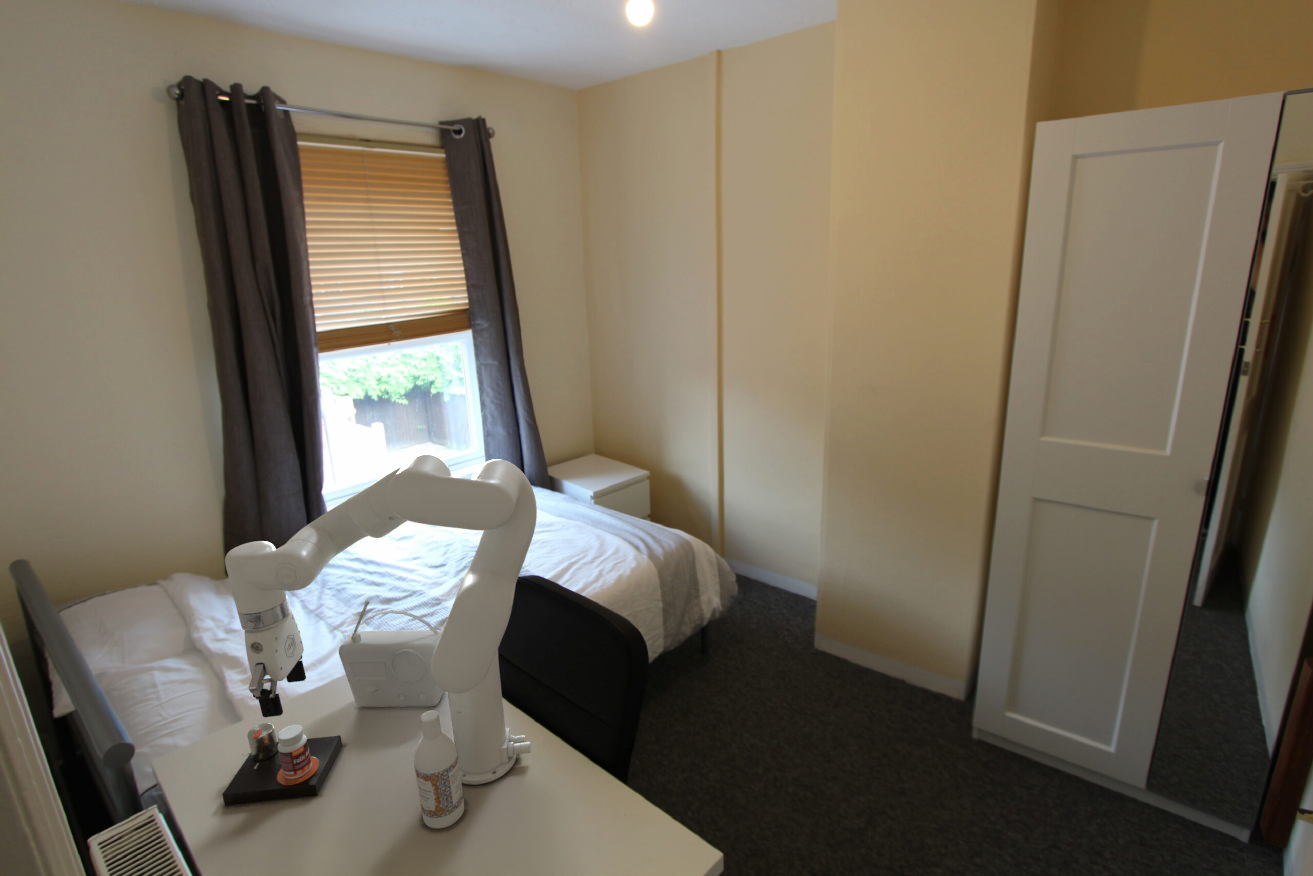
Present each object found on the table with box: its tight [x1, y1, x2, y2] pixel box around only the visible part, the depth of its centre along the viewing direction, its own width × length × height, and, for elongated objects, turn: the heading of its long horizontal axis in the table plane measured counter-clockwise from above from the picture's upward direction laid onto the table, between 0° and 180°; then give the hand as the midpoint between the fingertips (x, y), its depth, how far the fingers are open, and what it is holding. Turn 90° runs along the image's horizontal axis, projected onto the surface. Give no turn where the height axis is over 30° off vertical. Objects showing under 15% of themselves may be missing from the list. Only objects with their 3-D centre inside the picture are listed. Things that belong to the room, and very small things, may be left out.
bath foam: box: [413, 709, 465, 830], centre depth 112 cm, size 7×7×20 cm
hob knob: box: [246, 722, 278, 761], centre depth 127 cm, size 4×4×5 cm
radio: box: [338, 599, 445, 708], centre depth 142 cm, size 22×8×25 cm, turn 88°
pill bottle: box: [277, 724, 312, 779], centre depth 121 cm, size 5×5×8 cm
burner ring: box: [277, 757, 319, 785], centre depth 123 cm, size 7×7×1 cm
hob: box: [221, 735, 343, 807], centre depth 126 cm, size 17×14×3 cm
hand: (285, 697), depth 119 cm, fingers open, 9 cm apart
